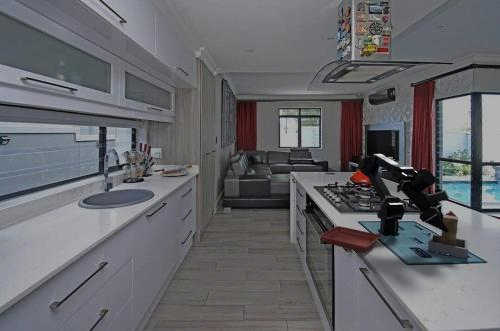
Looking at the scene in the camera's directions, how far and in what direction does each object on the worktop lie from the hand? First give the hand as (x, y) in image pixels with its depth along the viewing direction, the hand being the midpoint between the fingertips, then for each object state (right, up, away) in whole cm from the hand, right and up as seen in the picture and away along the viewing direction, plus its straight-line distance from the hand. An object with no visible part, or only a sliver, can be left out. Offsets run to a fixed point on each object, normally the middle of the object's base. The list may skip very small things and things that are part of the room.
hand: (447, 228), depth 107 cm
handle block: (0, -7, 0) cm, 8 cm away
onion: (+20, -6, +29) cm, 36 cm away
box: (0, -8, 0) cm, 8 cm away
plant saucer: (-34, -7, +7) cm, 35 cm away
